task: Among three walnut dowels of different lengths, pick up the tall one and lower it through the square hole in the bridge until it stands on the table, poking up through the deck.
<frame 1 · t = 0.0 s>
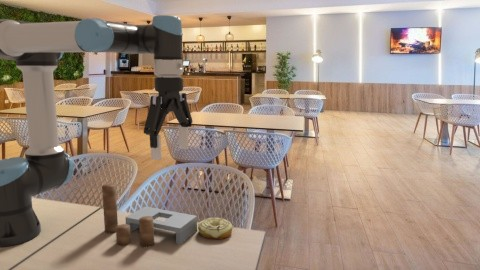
hand: (170, 154, 104), 28 cm above the table, fingers open, 13 cm apart
short dowel: (123, 242, 112), on the table
bridge: (161, 231, 120), on the table
long dowel: (111, 230, 120), on the table
medium dowel: (147, 244, 111), on the table
decorated donut: (215, 234, 119), on the table
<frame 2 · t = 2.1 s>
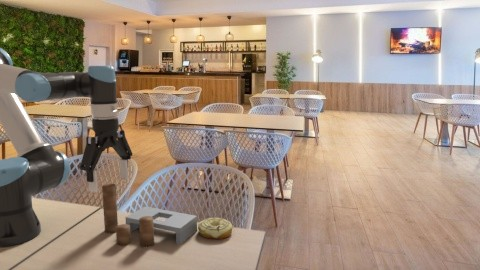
hand: (109, 185, 117), 15 cm above the table, fingers open, 13 cm apart
nothing on the table moved.
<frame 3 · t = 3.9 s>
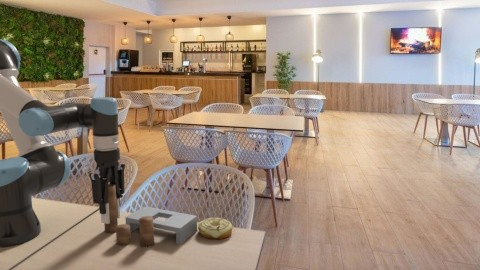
hand: (110, 219, 119), 4 cm above the table, fingers closed on long dowel, 4 cm apart
long dowel: (111, 230, 120), on the table, touching gripper
everything else where it was.
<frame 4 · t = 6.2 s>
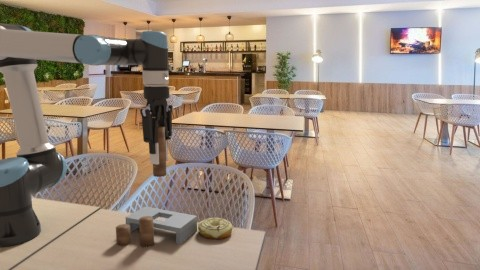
hand: (159, 161, 115), 23 cm above the table, fingers closed on long dowel, 4 cm apart
long dowel: (159, 174, 116), point 19 cm above the table, touching gripper
everything else where it was.
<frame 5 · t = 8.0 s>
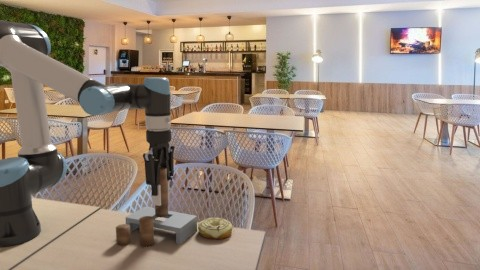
hand: (161, 202, 118), 10 cm above the table, fingers closed on long dowel, 4 cm apart
long dowel: (161, 214, 118), point 6 cm above the table, touching gripper
everything else where it was.
when the fingers open (6 cm above the table, at t = 9.0 s): long dowel drops 1 cm, on the table.
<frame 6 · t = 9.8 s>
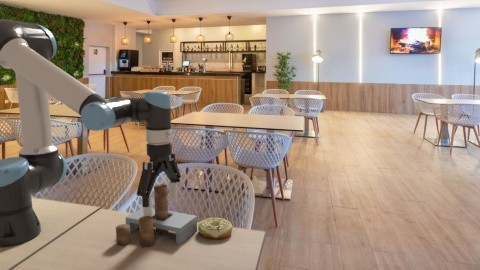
hand: (161, 208, 118), 8 cm above the table, fingers open, 13 cm apart
long dowel: (162, 231, 120), on the table
medium dowel: (147, 244, 111), on the table, touching gripper
everything else where it was.
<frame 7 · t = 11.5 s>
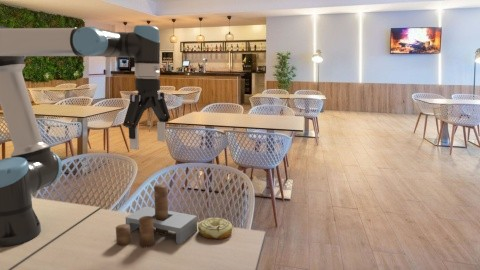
hand: (148, 145, 120), 27 cm above the table, fingers open, 13 cm apart
medium dowel: (147, 244, 111), on the table
everything else where it was.
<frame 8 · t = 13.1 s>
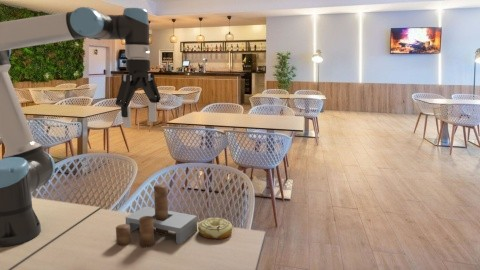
hand: (140, 124, 124), 33 cm above the table, fingers open, 13 cm apart
nothing on the table moved.
at the end: long dowel 0.1 cm off-centre on the bridge, point 0.0 cm above the bridge's base; long dowel tilted 0°; the gripper is holding nothing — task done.
